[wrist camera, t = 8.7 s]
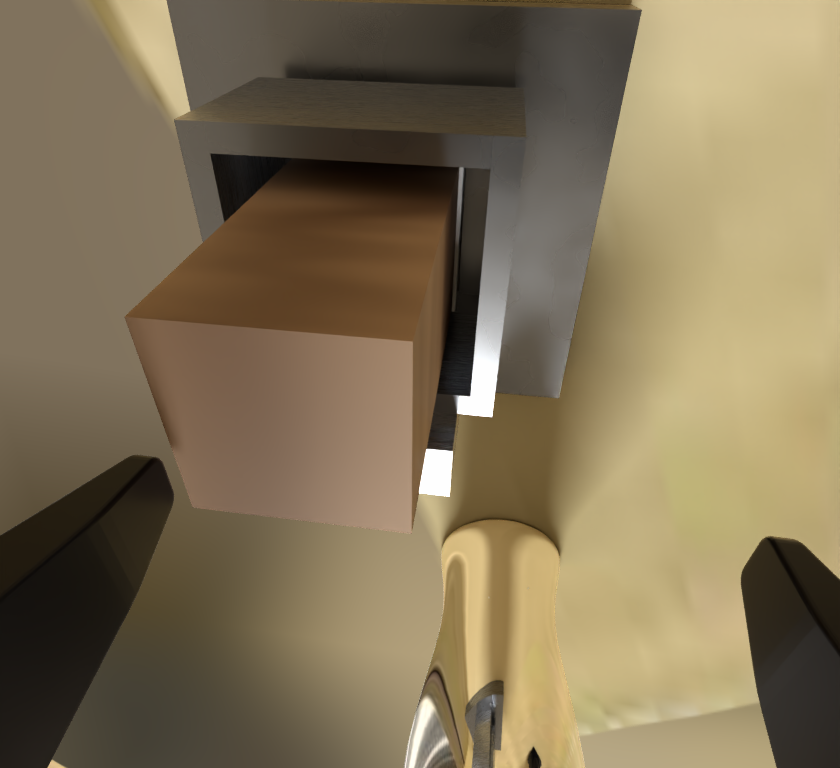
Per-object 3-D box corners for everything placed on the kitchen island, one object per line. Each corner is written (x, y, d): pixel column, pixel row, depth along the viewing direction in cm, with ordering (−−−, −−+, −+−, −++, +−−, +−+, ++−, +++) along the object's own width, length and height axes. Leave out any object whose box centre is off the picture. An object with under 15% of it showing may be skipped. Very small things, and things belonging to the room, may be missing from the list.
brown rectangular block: (467, 144, 14) (420, 335, 7) (458, 291, 17) (417, 537, 10) (307, 136, 15) (114, 309, 8) (322, 281, 17) (188, 510, 10)
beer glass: (579, 588, 30) (620, 995, 19) (456, 598, 32) (422, 968, 21) (552, 503, 27) (581, 945, 15) (415, 520, 29) (345, 919, 17)
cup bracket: (631, 4, 15) (728, 53, 8) (556, 374, 22) (573, 559, 15) (192, -8, 16) (-45, 26, 9) (260, 347, 23) (157, 509, 17)
